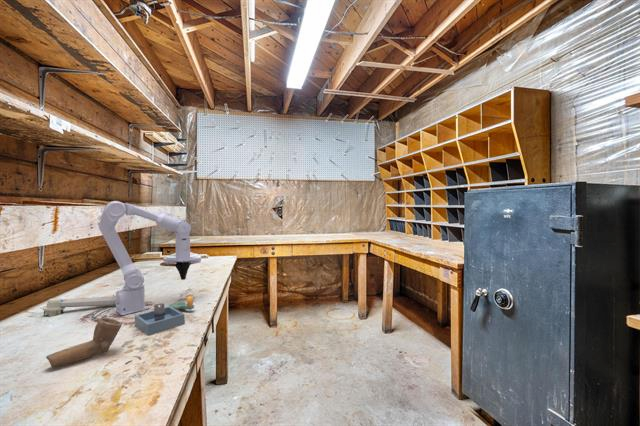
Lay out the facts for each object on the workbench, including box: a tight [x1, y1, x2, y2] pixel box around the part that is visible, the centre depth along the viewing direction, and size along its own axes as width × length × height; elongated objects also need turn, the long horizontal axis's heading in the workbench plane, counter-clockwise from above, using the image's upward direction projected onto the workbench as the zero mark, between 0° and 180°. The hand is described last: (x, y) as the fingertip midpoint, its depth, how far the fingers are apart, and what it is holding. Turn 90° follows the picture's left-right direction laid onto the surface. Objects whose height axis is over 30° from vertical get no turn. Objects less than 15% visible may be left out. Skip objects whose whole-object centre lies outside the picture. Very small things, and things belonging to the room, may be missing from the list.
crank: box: [168, 295, 195, 311], centre depth 117 cm, size 10×6×5 cm, turn 74°
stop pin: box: [153, 303, 166, 322], centre depth 104 cm, size 3×3×6 cm
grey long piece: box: [42, 294, 116, 317], centre depth 118 cm, size 5×7×25 cm
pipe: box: [45, 317, 123, 368], centre depth 82 cm, size 6×17×10 cm, turn 134°
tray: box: [134, 305, 186, 336], centre depth 104 cm, size 12×12×4 cm
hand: (183, 279), depth 129 cm, fingers closed
